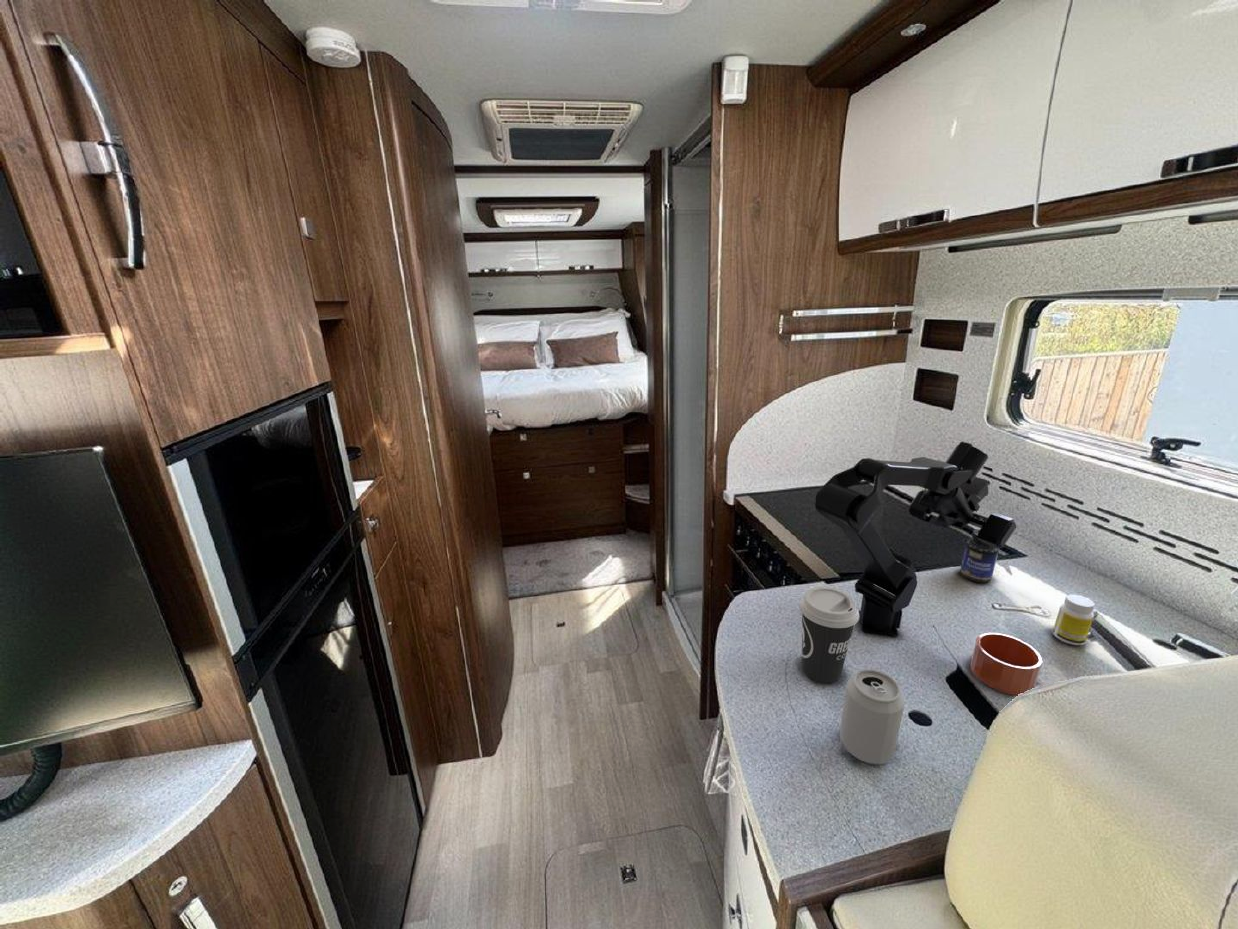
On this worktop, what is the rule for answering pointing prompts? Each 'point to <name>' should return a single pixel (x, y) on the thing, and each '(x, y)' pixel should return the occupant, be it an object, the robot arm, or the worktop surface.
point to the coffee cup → (826, 632)
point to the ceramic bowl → (1005, 663)
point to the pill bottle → (978, 560)
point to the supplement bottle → (1074, 620)
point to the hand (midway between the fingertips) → (969, 534)
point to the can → (871, 716)
